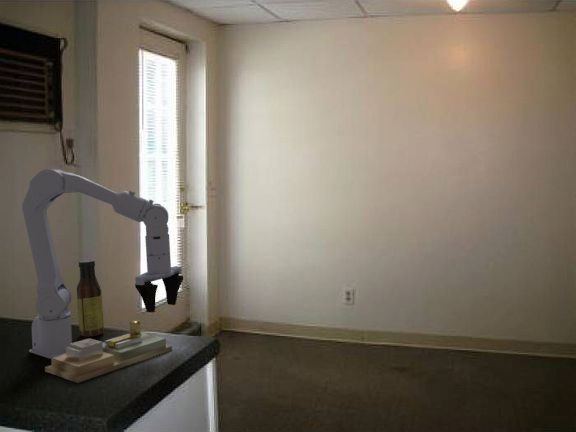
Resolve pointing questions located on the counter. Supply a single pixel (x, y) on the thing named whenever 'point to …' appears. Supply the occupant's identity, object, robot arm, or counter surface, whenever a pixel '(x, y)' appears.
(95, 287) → the sauce bottle
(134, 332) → the bolt
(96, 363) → the door and jamb
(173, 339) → the counter surface
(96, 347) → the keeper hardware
